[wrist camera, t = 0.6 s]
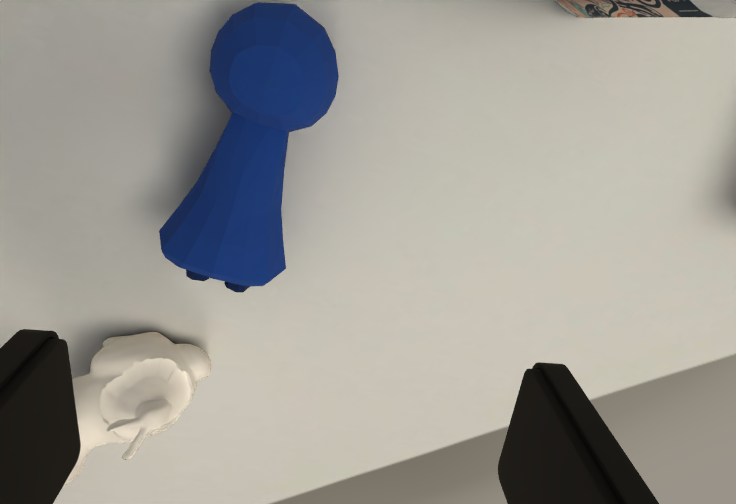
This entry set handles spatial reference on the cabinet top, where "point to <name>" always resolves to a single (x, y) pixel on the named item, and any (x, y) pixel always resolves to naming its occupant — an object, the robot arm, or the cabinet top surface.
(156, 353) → the rabbit figurine
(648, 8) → the beer can
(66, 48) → the cabinet top surface
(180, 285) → the cabinet top surface
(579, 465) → the robot arm
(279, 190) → the toy
